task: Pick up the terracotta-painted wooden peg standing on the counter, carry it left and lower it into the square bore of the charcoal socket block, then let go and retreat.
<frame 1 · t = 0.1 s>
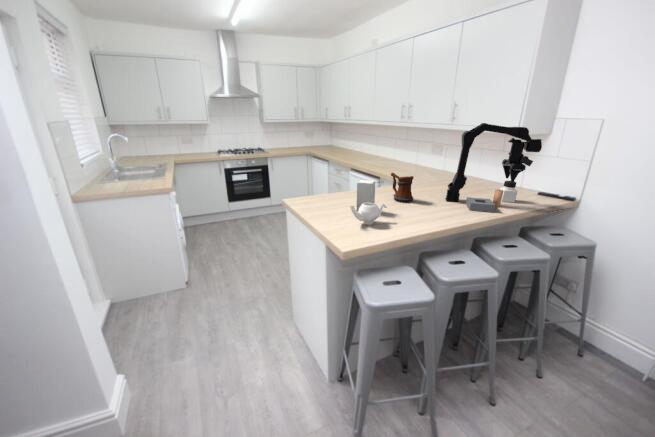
hand: (509, 180, 161), 14 cm above the table, fingers open, 9 cm apart
peg: (495, 206, 164), on the table
skincare box: (364, 210, 153), on the table
mug: (399, 199, 174), on the table
medicine bottle: (505, 201, 174), on the table
socket block: (479, 208, 160), on the table
teapot: (368, 223, 136), on the table
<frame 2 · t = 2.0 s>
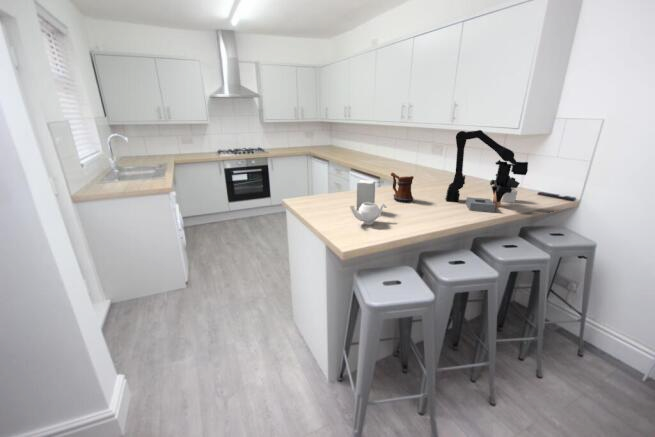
hand: (497, 200, 163), 3 cm above the table, fingers closed on peg, 4 cm apart
peg: (495, 206, 164), on the table, touching gripper
everything else where it was.
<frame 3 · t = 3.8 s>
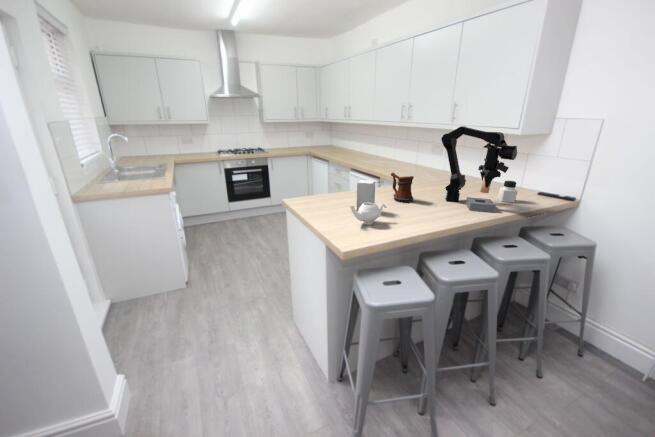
hand: (485, 186, 156), 12 cm above the table, fingers closed on peg, 4 cm apart
peg: (484, 192, 157), point 9 cm above the table, touching gripper
everything else where it was.
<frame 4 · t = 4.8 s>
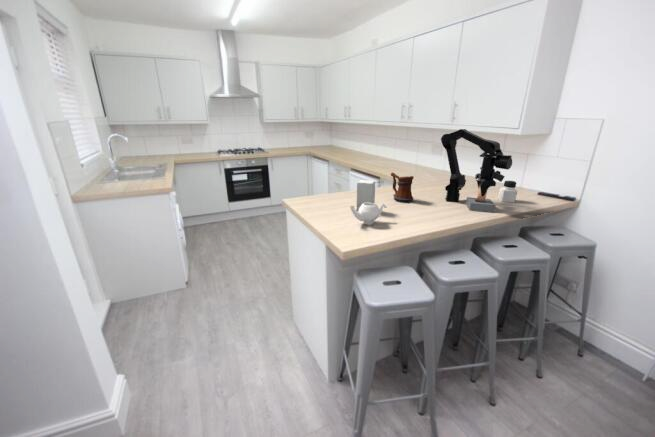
hand: (481, 195, 157), 7 cm above the table, fingers closed on peg, 4 cm apart
peg: (480, 200, 158), point 4 cm above the table, touching gripper
everything else where it was.
when the fingers open (5 cm above the table, at t = 5.6 s): peg drops 2 cm, resting in socket block.
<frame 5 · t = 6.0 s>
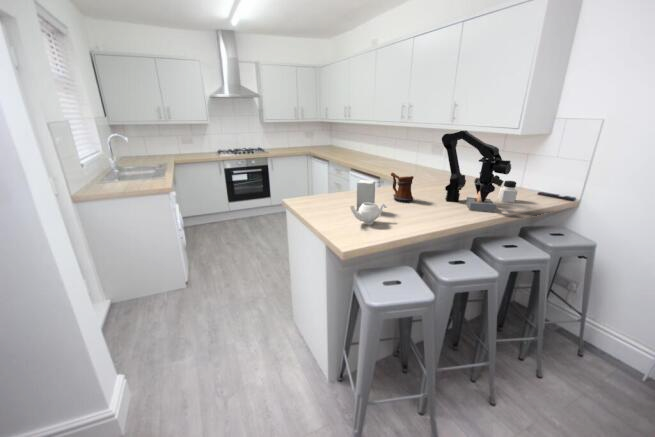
hand: (480, 199, 158), 5 cm above the table, fingers open, 9 cm apart
peg: (479, 208, 160), resting in socket block
everything else where it was.
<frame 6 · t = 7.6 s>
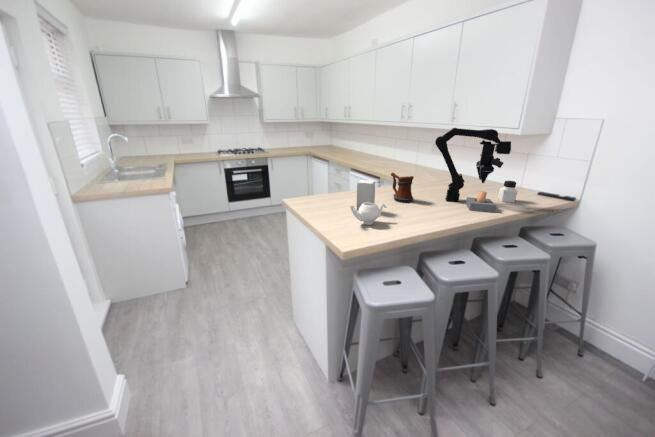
hand: (481, 181, 164), 13 cm above the table, fingers open, 9 cm apart
nothing on the table moved.
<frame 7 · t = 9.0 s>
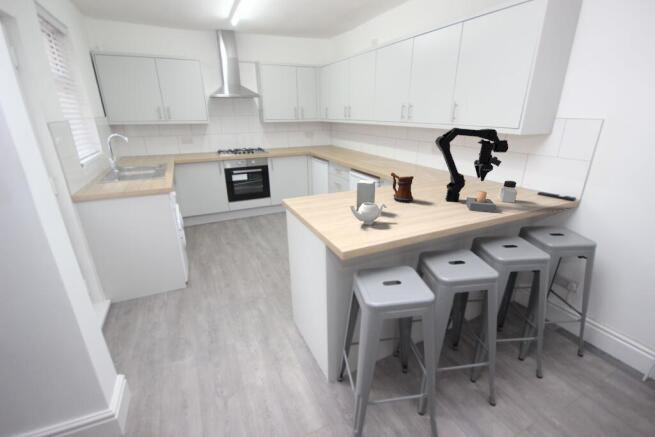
hand: (480, 179, 168), 13 cm above the table, fingers open, 9 cm apart
nothing on the table moved.
at the end: peg 0.0 cm off-centre in the socket block, point 0.0 cm above the socket block's base; peg tilted 0°; the gripper is holding nothing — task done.
